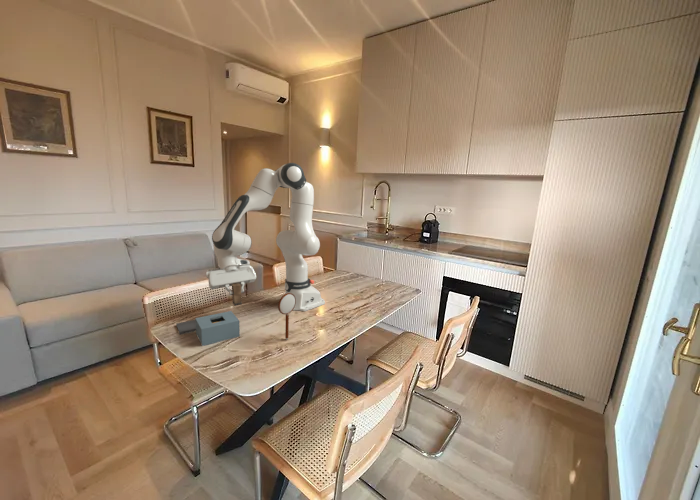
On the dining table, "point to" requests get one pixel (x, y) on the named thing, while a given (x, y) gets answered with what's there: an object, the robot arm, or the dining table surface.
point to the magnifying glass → (287, 308)
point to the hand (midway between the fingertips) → (237, 293)
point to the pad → (186, 326)
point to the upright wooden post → (236, 294)
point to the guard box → (217, 327)
